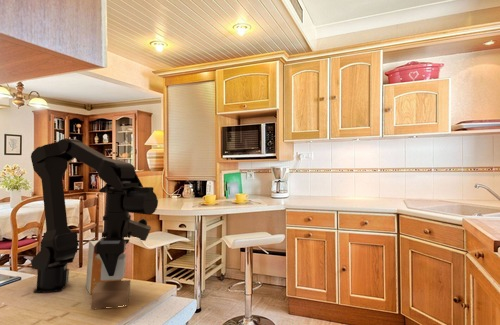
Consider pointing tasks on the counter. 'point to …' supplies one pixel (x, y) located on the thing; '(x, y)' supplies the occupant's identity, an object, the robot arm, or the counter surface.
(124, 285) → the base block
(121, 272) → the cube
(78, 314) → the counter surface
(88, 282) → the small box
